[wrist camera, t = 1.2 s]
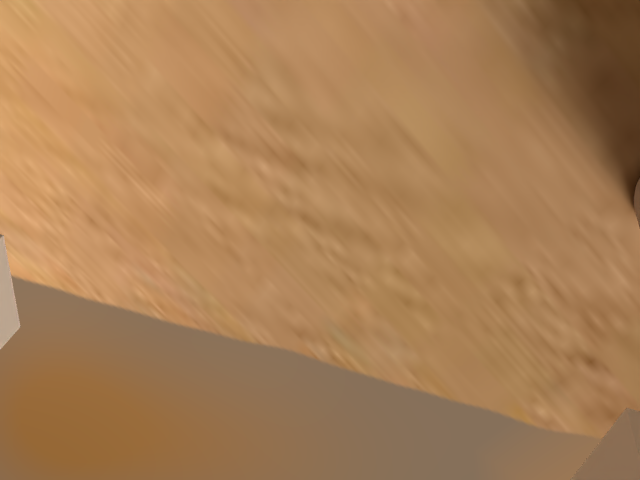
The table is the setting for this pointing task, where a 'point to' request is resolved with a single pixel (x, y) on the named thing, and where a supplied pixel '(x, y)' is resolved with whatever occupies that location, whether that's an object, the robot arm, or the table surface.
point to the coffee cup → (637, 201)
